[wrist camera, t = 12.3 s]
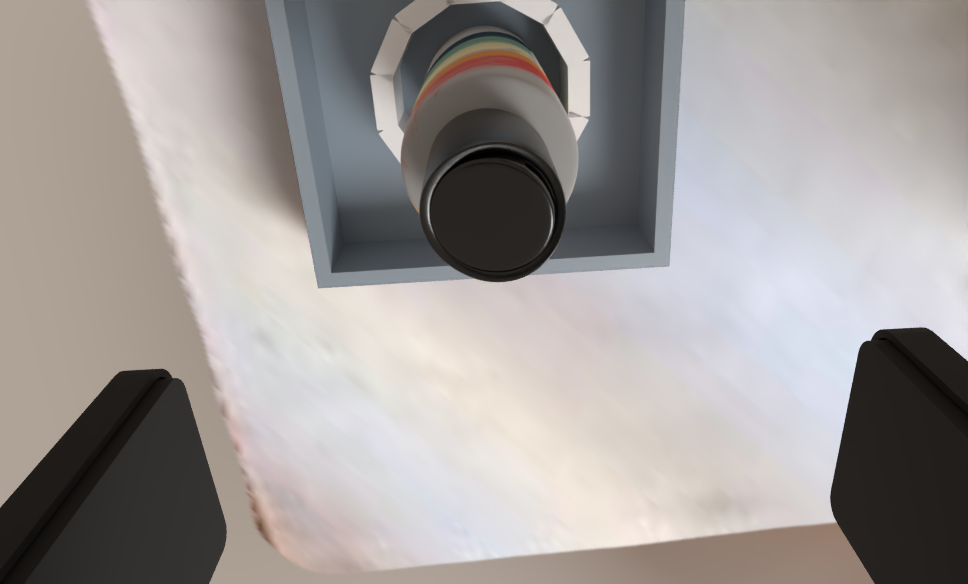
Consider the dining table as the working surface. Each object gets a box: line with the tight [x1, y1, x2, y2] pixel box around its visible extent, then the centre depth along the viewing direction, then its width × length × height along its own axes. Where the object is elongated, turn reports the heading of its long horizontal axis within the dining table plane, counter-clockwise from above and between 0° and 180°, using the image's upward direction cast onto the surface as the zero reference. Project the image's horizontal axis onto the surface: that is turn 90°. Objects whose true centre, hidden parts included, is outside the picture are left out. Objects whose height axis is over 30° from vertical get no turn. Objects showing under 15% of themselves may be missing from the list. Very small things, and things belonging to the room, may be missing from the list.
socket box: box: [264, 0, 685, 288], centre depth 34 cm, size 18×18×5 cm
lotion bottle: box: [400, 26, 579, 282], centre depth 26 cm, size 6×6×20 cm
